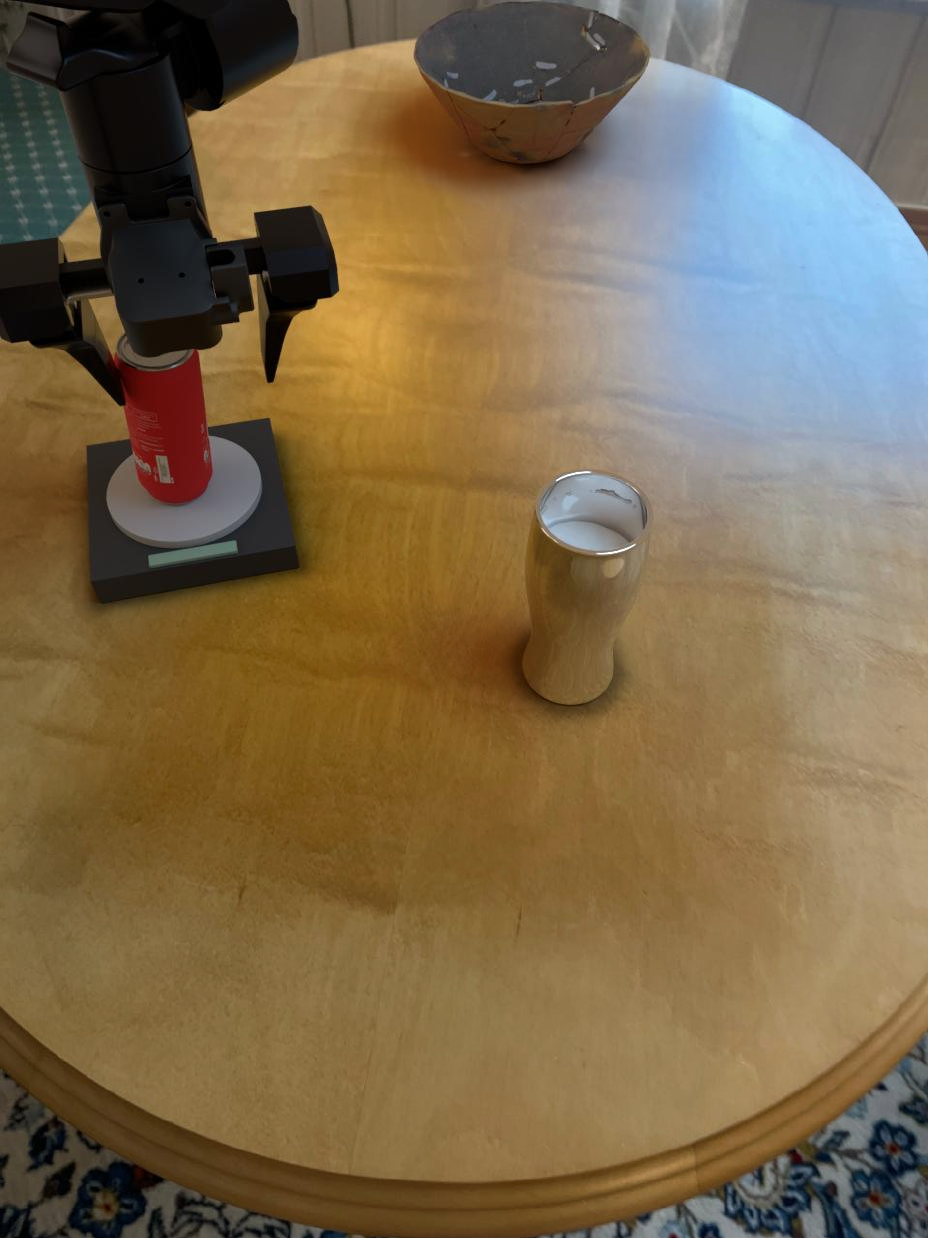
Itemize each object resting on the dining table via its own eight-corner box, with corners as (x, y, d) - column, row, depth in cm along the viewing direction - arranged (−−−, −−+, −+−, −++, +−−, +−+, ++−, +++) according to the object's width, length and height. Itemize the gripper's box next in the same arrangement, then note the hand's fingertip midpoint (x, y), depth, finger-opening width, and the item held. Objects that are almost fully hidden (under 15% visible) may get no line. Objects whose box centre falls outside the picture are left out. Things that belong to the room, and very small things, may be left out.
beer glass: (567, 730, 62) (595, 578, 50) (493, 663, 65) (504, 504, 53) (641, 672, 65) (684, 514, 53) (567, 610, 68) (592, 448, 56)
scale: (99, 603, 68) (86, 573, 65) (94, 468, 76) (82, 437, 73) (299, 567, 70) (294, 537, 67) (273, 440, 78) (268, 408, 76)
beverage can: (132, 465, 71) (103, 327, 61) (203, 451, 72) (186, 314, 63) (149, 515, 68) (121, 378, 59) (222, 499, 70) (207, 364, 60)
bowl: (526, 72, 120) (532, -19, 112) (681, 146, 109) (700, 50, 101) (368, 136, 110) (362, 40, 102) (522, 225, 98) (529, 125, 91)
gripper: (-69, 256, 43) (46, 504, 55) (346, 204, 46) (367, 449, 59) (-56, 137, 50) (44, 383, 62) (307, 98, 53) (333, 339, 65)
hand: (197, 390), depth 62 cm, fingers open, 9 cm apart
